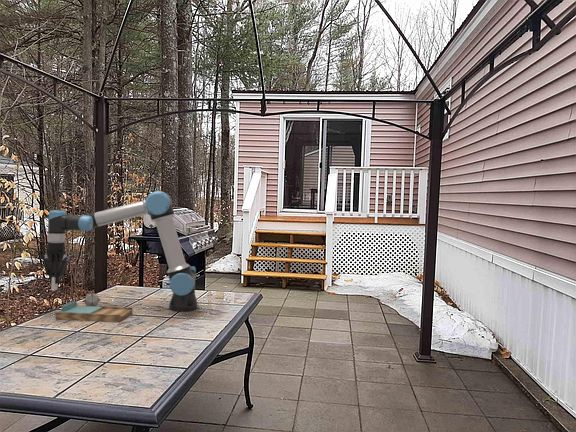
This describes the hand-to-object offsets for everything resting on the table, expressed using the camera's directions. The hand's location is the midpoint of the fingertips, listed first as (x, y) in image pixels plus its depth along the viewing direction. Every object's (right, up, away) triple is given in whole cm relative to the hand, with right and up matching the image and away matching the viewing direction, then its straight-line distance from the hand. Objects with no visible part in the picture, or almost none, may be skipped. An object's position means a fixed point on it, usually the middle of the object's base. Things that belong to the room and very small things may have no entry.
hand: (54, 290), depth 203 cm
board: (+20, -13, 0) cm, 24 cm away
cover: (+13, -10, 0) cm, 17 cm away
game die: (+10, -13, +17) cm, 24 cm away
